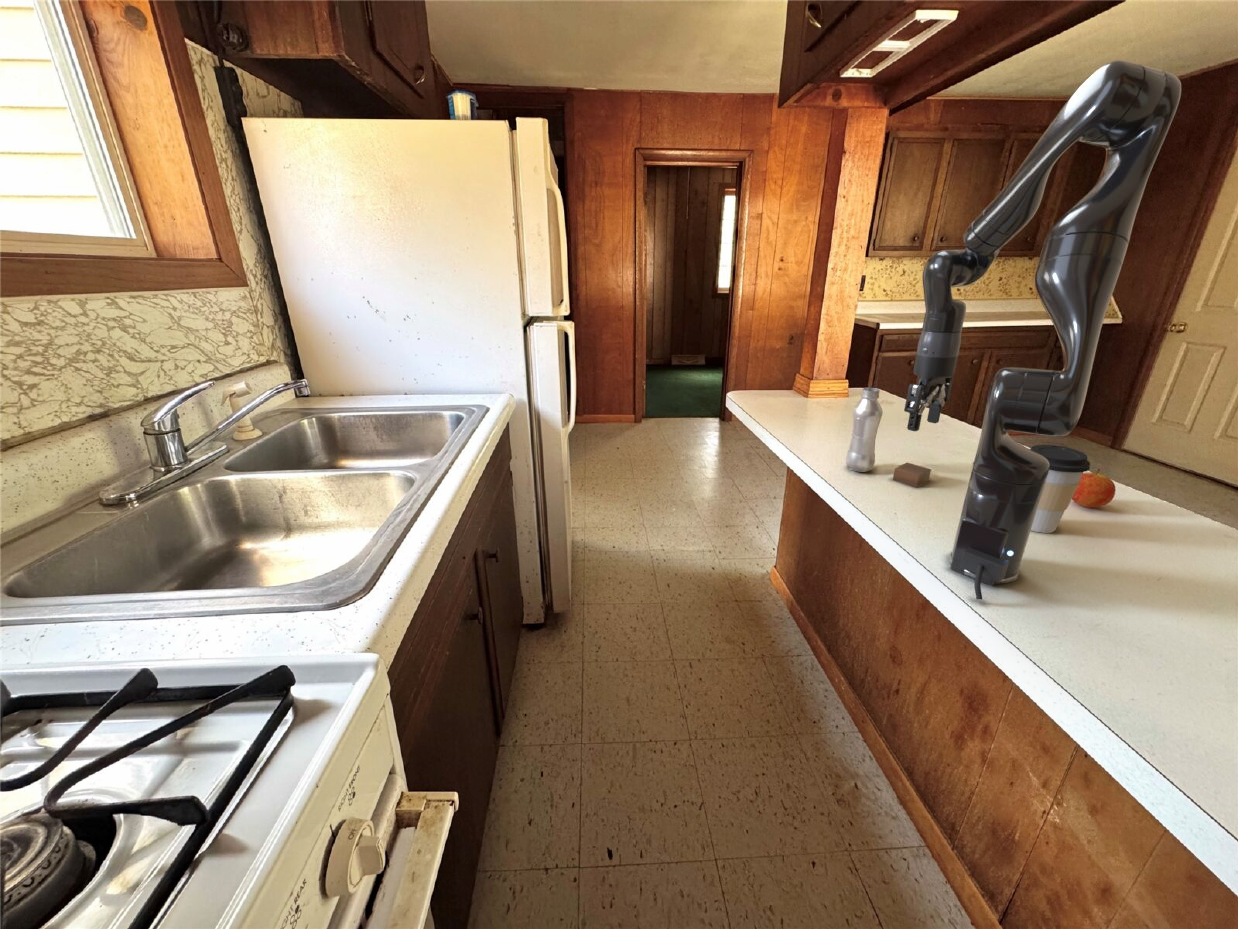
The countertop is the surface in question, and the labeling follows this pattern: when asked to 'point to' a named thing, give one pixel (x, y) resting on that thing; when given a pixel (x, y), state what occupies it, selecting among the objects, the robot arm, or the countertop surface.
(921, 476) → the walnut block
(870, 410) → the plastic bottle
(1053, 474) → the coffee cup
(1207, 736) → the countertop surface
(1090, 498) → the fruit
